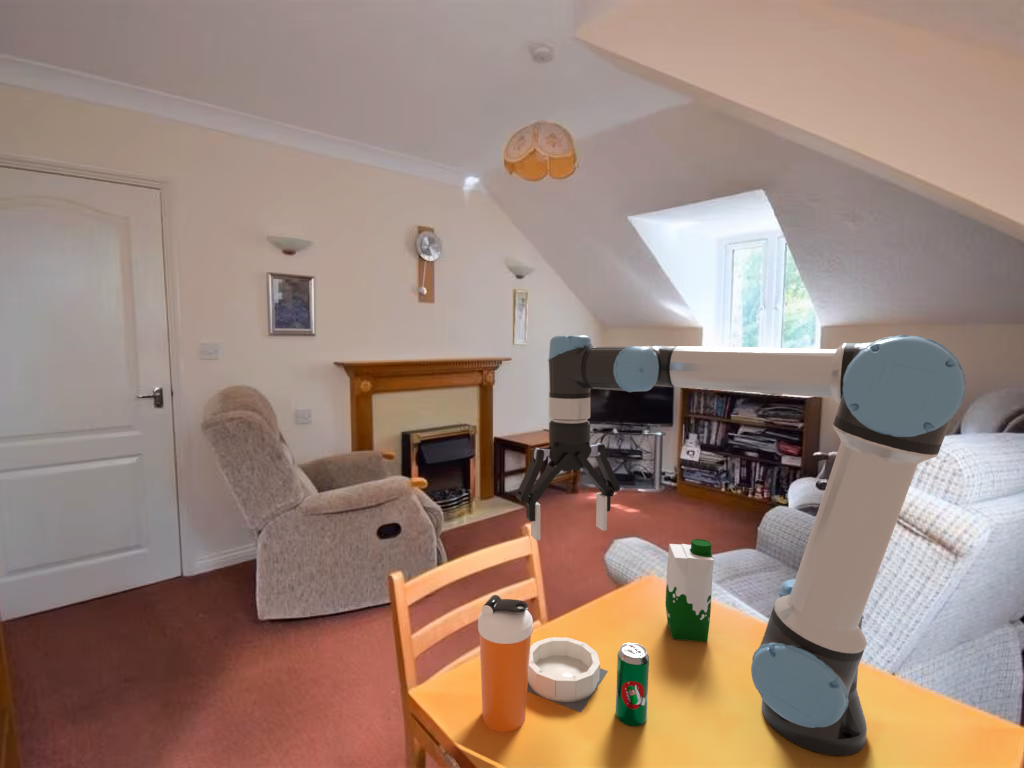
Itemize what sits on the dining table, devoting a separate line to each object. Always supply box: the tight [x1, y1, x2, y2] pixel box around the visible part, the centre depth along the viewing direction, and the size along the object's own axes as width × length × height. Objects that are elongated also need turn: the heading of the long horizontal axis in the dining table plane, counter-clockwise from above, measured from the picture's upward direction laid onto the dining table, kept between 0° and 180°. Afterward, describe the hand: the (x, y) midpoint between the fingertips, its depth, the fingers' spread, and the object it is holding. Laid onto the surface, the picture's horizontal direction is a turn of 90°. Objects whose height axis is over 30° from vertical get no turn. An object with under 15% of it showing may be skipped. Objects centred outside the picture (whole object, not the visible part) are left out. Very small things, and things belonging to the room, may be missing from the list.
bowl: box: [528, 636, 601, 702], centre depth 99 cm, size 13×13×4 cm
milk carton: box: [665, 538, 715, 643], centre depth 115 cm, size 9×9×20 cm
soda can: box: [615, 642, 650, 727], centre depth 89 cm, size 5×5×12 cm
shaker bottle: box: [477, 594, 534, 733], centre depth 88 cm, size 9×9×20 cm
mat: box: [527, 667, 609, 713], centre depth 99 cm, size 13×13×1 cm
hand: (569, 533), depth 101 cm, fingers open, 13 cm apart
